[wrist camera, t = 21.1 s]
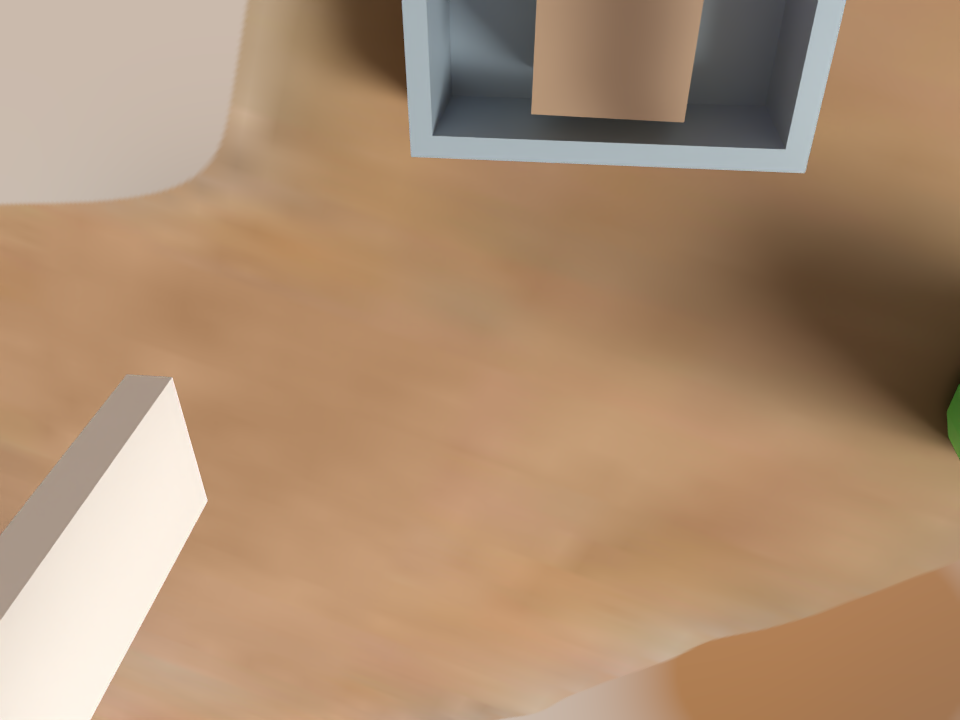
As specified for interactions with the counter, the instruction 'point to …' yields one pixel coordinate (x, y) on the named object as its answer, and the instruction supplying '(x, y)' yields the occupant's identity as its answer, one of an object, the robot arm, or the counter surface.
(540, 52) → the walnut cube
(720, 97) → the box
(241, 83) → the counter surface
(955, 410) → the bottle
